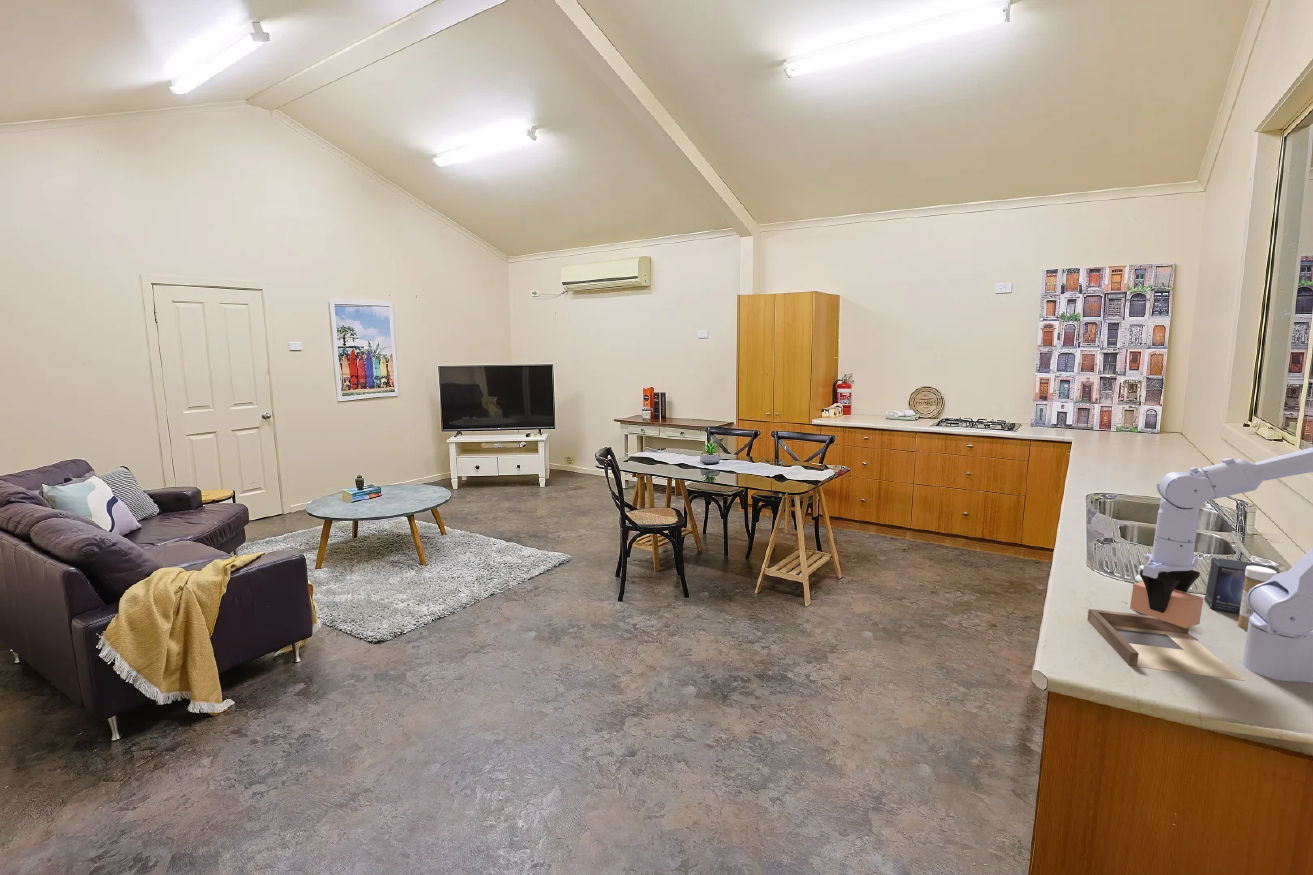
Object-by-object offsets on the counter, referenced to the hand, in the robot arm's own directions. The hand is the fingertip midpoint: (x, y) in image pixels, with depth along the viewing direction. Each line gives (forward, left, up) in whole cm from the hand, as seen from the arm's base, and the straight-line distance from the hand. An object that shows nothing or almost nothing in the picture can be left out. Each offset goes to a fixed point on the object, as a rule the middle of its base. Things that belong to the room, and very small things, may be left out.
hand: (1164, 608), depth 115 cm
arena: (0, -1, -9) cm, 9 cm away
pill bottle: (-7, -22, -10) cm, 25 cm away
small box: (-27, -29, -10) cm, 41 cm away
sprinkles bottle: (-23, -17, -9) cm, 30 cm away
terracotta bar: (0, 0, -2) cm, 2 cm away
